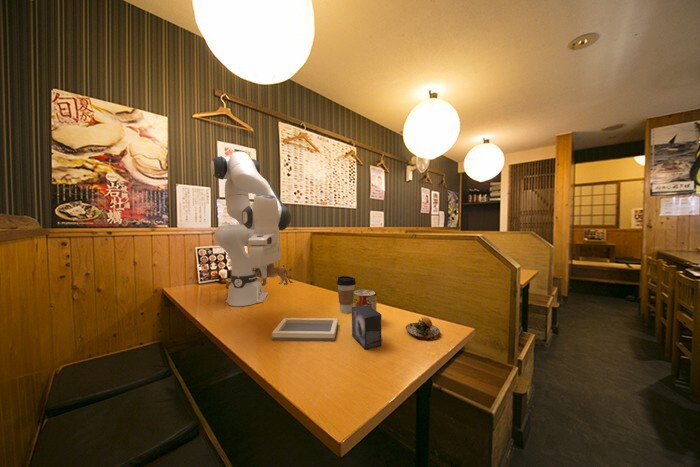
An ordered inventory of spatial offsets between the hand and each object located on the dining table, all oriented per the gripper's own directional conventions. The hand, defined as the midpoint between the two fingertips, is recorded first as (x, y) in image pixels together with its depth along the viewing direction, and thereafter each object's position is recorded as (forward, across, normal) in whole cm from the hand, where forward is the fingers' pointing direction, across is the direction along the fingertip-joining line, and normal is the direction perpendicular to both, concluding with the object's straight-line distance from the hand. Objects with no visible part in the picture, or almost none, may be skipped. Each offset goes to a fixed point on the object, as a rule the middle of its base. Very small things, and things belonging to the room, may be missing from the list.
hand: (267, 276), depth 90 cm
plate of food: (+21, 0, +56) cm, 60 cm away
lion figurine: (+3, +1, +1) cm, 4 cm away
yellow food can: (+20, -8, +35) cm, 42 cm away
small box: (+21, +7, +36) cm, 42 cm away
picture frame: (+20, +1, +14) cm, 25 cm away
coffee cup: (+20, -21, +27) cm, 40 cm away
